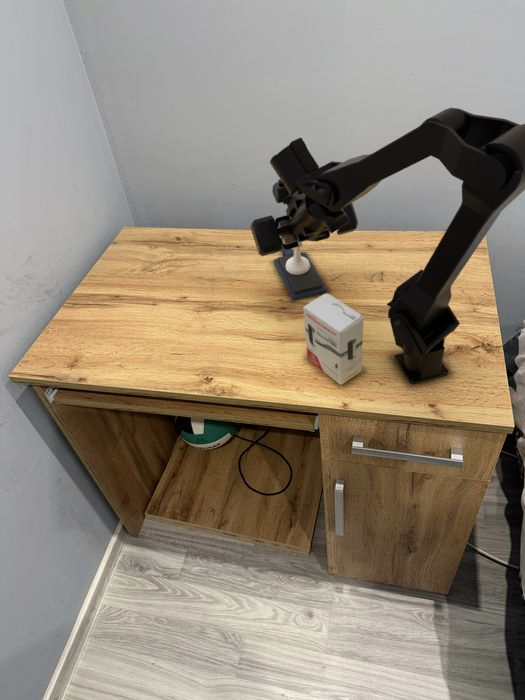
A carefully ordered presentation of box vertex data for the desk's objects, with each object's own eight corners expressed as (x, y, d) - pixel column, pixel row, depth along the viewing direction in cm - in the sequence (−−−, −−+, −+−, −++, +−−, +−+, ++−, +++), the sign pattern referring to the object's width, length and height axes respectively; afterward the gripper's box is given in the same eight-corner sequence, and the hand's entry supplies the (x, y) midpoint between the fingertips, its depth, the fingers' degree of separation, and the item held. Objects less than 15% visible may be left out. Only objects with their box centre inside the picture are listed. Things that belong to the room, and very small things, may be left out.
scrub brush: (327, 292, 97) (326, 283, 96) (292, 300, 96) (291, 292, 95) (295, 239, 112) (295, 231, 111) (265, 245, 111) (265, 238, 110)
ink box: (305, 359, 85) (301, 304, 76) (327, 345, 86) (326, 290, 78) (340, 386, 79) (340, 331, 71) (362, 371, 81) (365, 315, 73)
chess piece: (296, 255, 103) (295, 214, 96) (314, 265, 101) (314, 224, 93) (280, 267, 101) (277, 227, 94) (298, 278, 99) (297, 238, 91)
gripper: (352, 152, 83) (326, 187, 99) (246, 179, 80) (236, 210, 95) (372, 216, 83) (343, 241, 99) (267, 245, 80) (253, 266, 95)
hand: (294, 238), depth 97 cm, fingers closed on chess piece
